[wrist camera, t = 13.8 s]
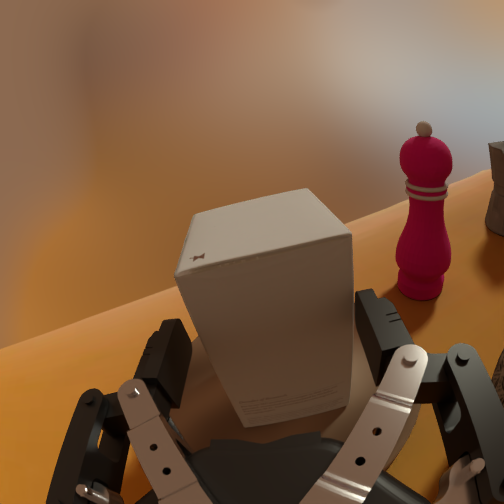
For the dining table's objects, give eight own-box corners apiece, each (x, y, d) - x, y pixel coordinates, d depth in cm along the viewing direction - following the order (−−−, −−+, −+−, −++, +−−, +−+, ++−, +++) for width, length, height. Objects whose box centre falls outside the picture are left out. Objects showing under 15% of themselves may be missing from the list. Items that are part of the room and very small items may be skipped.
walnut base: (441, 373, 20) (456, 336, 18) (303, 560, 9) (297, 564, 7) (285, 309, 34) (278, 275, 32) (149, 415, 23) (124, 386, 21)
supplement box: (352, 407, 16) (358, 232, 10) (242, 430, 16) (165, 275, 11) (326, 335, 23) (309, 184, 17) (238, 353, 23) (190, 211, 17)
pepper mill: (417, 311, 28) (426, 126, 19) (383, 281, 34) (376, 121, 25) (455, 289, 29) (468, 124, 20) (421, 264, 35) (421, 117, 26)
